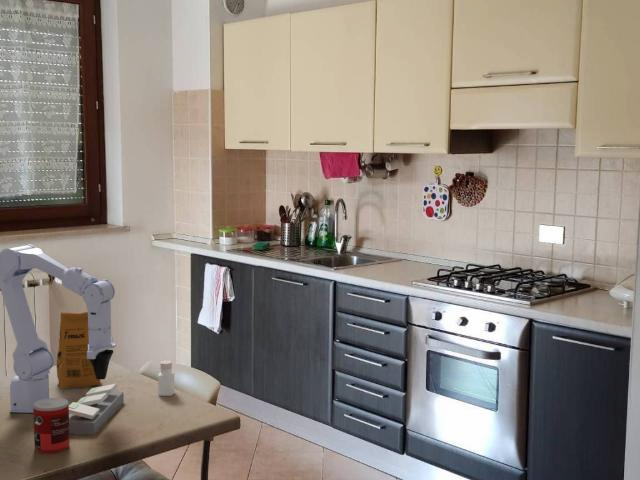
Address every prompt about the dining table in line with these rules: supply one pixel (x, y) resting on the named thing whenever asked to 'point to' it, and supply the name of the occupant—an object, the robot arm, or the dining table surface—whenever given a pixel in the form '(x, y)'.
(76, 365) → the coffee package
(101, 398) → the rocker
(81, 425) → the switch strip
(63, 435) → the canned food
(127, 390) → the dining table surface
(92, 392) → the rocker
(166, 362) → the pepper shaker
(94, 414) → the rocker
